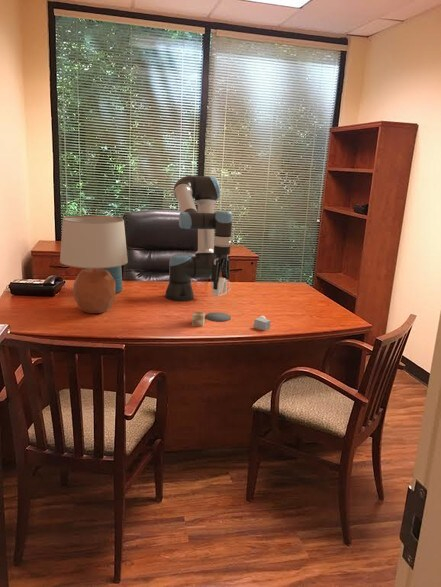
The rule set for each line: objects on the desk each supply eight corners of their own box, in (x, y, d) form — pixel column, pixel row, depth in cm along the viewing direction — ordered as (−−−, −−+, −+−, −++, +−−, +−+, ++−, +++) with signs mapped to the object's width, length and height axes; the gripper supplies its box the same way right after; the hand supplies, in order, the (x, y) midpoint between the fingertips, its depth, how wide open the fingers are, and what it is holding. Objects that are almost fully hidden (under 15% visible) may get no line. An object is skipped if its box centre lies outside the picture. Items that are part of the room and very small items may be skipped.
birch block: (191, 325, 215) (192, 314, 214) (193, 322, 220) (194, 311, 218) (202, 326, 214) (203, 315, 213) (204, 323, 219) (205, 312, 218)
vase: (128, 291, 264) (129, 243, 257) (103, 296, 252) (103, 245, 245) (110, 285, 274) (110, 239, 267) (85, 290, 262) (85, 241, 255)
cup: (207, 293, 227) (208, 276, 225) (227, 294, 230) (229, 277, 229) (211, 295, 220) (213, 278, 219) (232, 296, 223) (234, 279, 222)
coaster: (201, 318, 225) (201, 317, 225) (212, 312, 236) (212, 310, 235) (224, 323, 220) (224, 321, 220) (235, 316, 231) (235, 315, 230)
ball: (256, 324, 221) (256, 316, 220) (259, 322, 224) (260, 314, 223) (264, 326, 219) (265, 317, 218) (267, 323, 223) (268, 315, 222)
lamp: (86, 299, 246) (85, 213, 235) (138, 307, 236) (139, 219, 225) (47, 314, 218) (43, 218, 207) (105, 325, 209) (104, 225, 198)
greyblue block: (253, 327, 217) (254, 319, 216) (259, 325, 220) (259, 317, 219) (264, 331, 213) (265, 322, 212) (269, 329, 216) (270, 320, 215)
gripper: (219, 249, 209) (216, 300, 214) (239, 243, 226) (236, 291, 232) (204, 247, 212) (202, 297, 218) (224, 242, 229) (222, 288, 235)
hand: (219, 294), depth 225 cm, fingers closed on cup, 7 cm apart
